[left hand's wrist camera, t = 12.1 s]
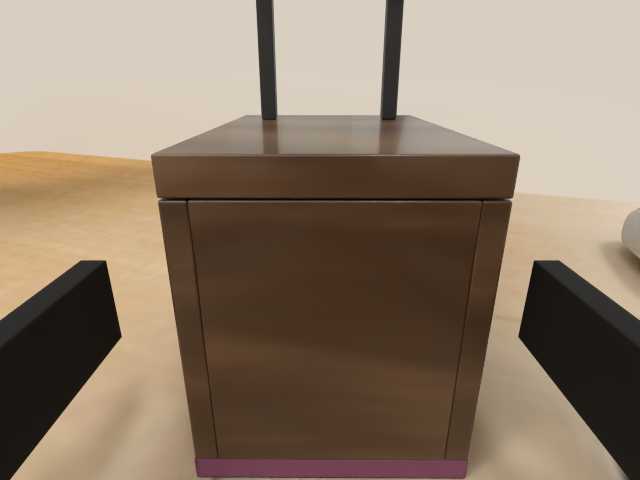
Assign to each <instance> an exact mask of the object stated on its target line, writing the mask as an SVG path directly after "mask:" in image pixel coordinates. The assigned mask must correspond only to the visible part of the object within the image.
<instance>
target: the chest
mask: <svg viewBox="0 0 640 480" xmlns="http://www.w3.org/2000/svg"><path fill="white" fill-rule="evenodd" d="M158 205H159V212H160V218H161V225H162V232H163V239H164V246H165V252H166V259H167V266H168V273H169V280H170V286H171V293H172V300H173V307H174V313H175V320H176V327H177V334H178V341H179V347H180V354H181V361H182V368H183V374H184V381H185V388H186V395H187V402H188V408H189V415H190V422H191V429H192V436H193V442H194V449H195V456H196V458H195V465H196V471H197V477H381V478H465V475H466V470H467V464H468V460H467V458H468V452H469V446H470V440H471V435H472V429H473V423H474V418H475V412H476V406H477V401H478V395H479V389H480V383H481V378H482V372H483V366H484V361H485V355H486V349H487V344H488V338H489V332H490V326H491V321H492V315H493V309H494V304H495V298H496V292H497V286H498V281H499V275H500V269H501V264H502V258H503V252H504V247H505V241H506V235H507V229H508V224H509V218H510V212H511V207H512V201H510V200H509V199H405V198H162V199H161V200H159V202H158Z"/></svg>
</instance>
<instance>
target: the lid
mask: <svg viewBox="0 0 640 480" xmlns="http://www.w3.org/2000/svg"><path fill="white" fill-rule="evenodd" d="M403 4H404V0H386V14H385V33H384V53H383V73H382V92H381V112H380V115H277V92H276V64H275V36H274V8H273V0H256V10H257V30H258V51H259V70H260V91H261V111H262V115H246V116H243V117H241V118H239V119H236V120H234V121H231V122H229V123H226V124H224V125H222V126H219V127H217V128H215V129H212V130H210V131H207V132H205V133H202V134H200V135H198V136H195V137H193V138H190V139H188V140H185V141H183V142H180V143H178V144H176V145H173V146H171V147H168V148H166V149H164V150H161V151H159V152H156V153H154V154H152V155H151V159H152V166H153V172H154V179H155V186H156V193H157V197H158V198H405V199H510V198H513V195H514V189H515V183H516V178H517V172H518V166H519V160H520V155H519V154H516V153H514V152H511V151H508V150H505V149H502V148H500V147H497V146H494V145H491V144H488V143H486V142H483V141H480V140H477V139H475V138H472V137H469V136H466V135H463V134H461V133H458V132H455V131H452V130H449V129H447V128H444V127H441V126H438V125H436V124H433V123H430V122H427V121H424V120H421V119H419V118H416V117H413V116H410V115H396V113H397V97H398V82H399V66H400V51H401V35H402V20H403Z"/></svg>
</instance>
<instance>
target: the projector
mask: <svg viewBox="0 0 640 480" xmlns="http://www.w3.org/2000/svg"><path fill="white" fill-rule="evenodd" d="M621 238H622V241H623V243H624V244H625V245H626V246H627V247H628V249H629V250H630V251H631V252H632V253H634V254H635V255H636V256H637V257H638V258H639V259H640V208H639V209H636V210H635V211H633V212H631V213H630V214H629V215H628V216H627V218H626V220H625V222H624V225H623V229H622V236H621Z"/></svg>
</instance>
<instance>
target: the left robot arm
mask: <svg viewBox="0 0 640 480" xmlns="http://www.w3.org/2000/svg"><path fill="white" fill-rule="evenodd" d="M121 337H122V336H121V331H120V326H119V321H118V317H117V312H116V307H115V302H114V297H113V292H112V288H111V283H110V278H109V273H108V268H107V263H106V261H80V262H78V263H77V264H76V265H74V266H73V267H72V268H70V269H69V270H67V271H66V272H65V273H63V274H62V275H61V276H59V277H58V278H57V279H55V280H54V281H53V282H51V283H50V284H49V285H47V286H46V287H45V288H43V289H42V290H41V291H39V292H38V293H37V294H35V295H34V296H32V297H31V298H30V299H28V300H27V301H26V302H24V303H23V304H22V305H20V306H19V307H18V308H16V309H15V310H14V311H12V312H11V313H10V314H8V315H7V316H6V317H4V318H3V319H1V320H0V480H10V479H11V478H12V476H13V475H14V474H15V473H16V471H17V470H18V469H19V467H20V466H21V465H22V464H23V462H24V461H25V460H26V459H27V457H28V456H29V455H30V453H31V452H32V451H33V450H34V448H35V447H36V446H37V444H38V443H39V442H40V441H41V439H42V438H43V437H44V435H45V434H46V433H47V432H48V430H49V429H50V428H51V427H52V425H53V424H54V423H55V421H56V420H57V419H58V418H59V416H60V415H61V414H62V412H63V411H64V410H65V409H66V407H67V406H68V405H69V404H70V402H71V401H72V400H73V398H74V397H75V396H76V395H77V393H78V392H79V391H80V389H81V388H82V387H83V386H84V384H85V383H86V382H87V380H88V379H89V378H90V377H91V375H92V374H93V373H94V372H95V370H96V369H97V368H98V366H99V365H100V364H101V363H102V361H103V360H104V359H105V357H106V356H107V355H108V354H109V352H110V351H111V350H112V349H113V347H114V346H115V345H116V343H117V342H118V341H119V340H120V338H121ZM518 337H519V338H520V340H521V341H522V342H523V343H524V345H525V346H526V347H527V349H528V350H529V351H530V352H531V354H532V355H533V356H534V357H535V359H536V360H537V361H538V363H539V364H540V365H541V366H542V368H543V369H544V370H545V372H546V373H547V374H548V375H549V377H550V378H551V379H552V380H553V382H554V383H555V384H556V386H557V387H558V388H559V389H560V391H561V392H562V393H563V395H564V396H565V397H566V398H567V400H568V401H569V402H570V404H571V405H572V406H573V407H574V409H575V410H576V411H577V412H578V414H579V415H580V416H581V418H582V419H583V420H584V421H585V423H586V424H587V425H588V427H589V428H590V429H591V430H592V432H593V433H594V434H595V435H596V437H597V438H598V439H599V441H600V442H601V443H602V444H603V446H604V447H605V448H606V450H607V451H608V452H609V453H610V455H611V456H612V457H613V459H614V460H615V461H616V462H617V464H618V465H619V466H620V467H621V469H622V470H623V471H624V473H625V474H626V475H627V476H628V478H629V479H630V480H640V320H639V319H637V318H636V317H634V316H633V315H632V314H630V313H629V312H628V311H626V310H625V309H624V308H622V307H621V306H620V305H618V304H617V303H616V302H614V301H613V300H612V299H610V298H609V297H608V296H606V295H605V294H603V293H602V292H601V291H599V290H598V289H597V288H595V287H594V286H593V285H591V284H590V283H589V282H587V281H586V280H585V279H583V278H582V277H581V276H579V275H578V274H577V273H575V272H574V271H573V270H571V269H570V268H568V267H567V266H566V265H564V264H563V263H562V262H560V261H534V263H533V268H532V273H531V278H530V283H529V288H528V292H527V297H526V302H525V307H524V312H523V317H522V321H521V326H520V331H519V336H518Z"/></svg>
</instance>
